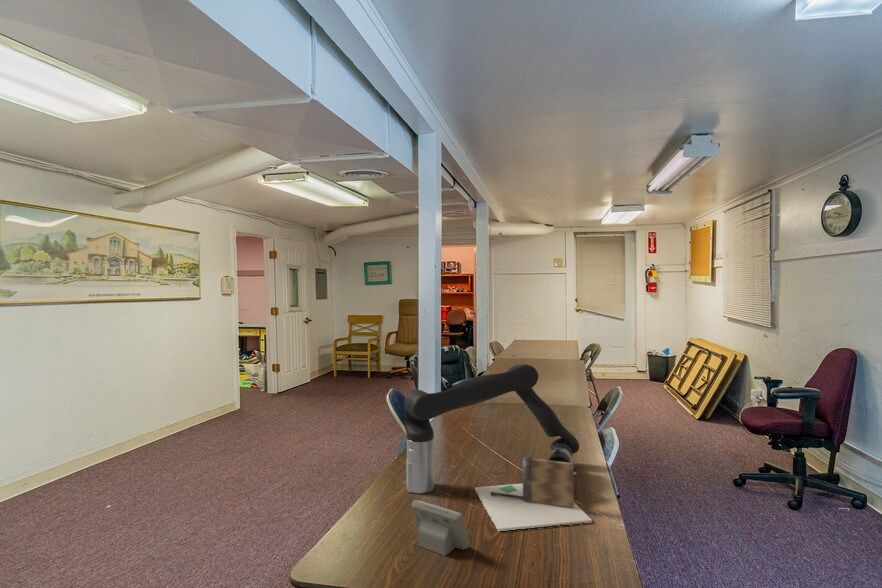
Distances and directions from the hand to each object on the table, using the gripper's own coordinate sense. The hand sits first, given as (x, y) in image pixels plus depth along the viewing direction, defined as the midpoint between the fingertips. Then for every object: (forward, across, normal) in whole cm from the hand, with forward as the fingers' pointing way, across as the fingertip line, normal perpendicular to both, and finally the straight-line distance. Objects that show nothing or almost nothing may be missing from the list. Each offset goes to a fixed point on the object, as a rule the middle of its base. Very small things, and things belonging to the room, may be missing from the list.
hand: (553, 480), depth 148 cm
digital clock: (+33, -26, +8) cm, 43 cm away
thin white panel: (+3, -7, +8) cm, 11 cm away
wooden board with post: (+2, -7, +6) cm, 10 cm away
